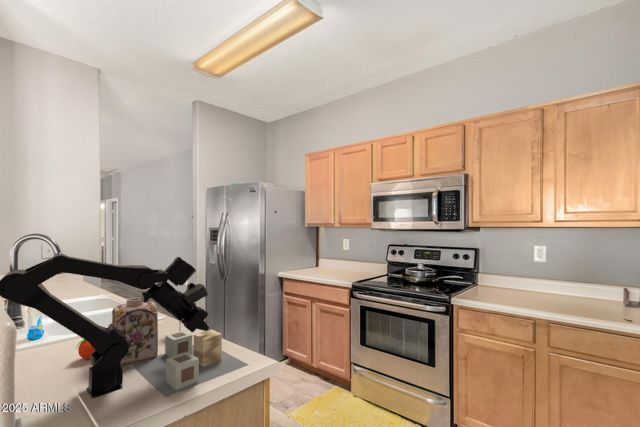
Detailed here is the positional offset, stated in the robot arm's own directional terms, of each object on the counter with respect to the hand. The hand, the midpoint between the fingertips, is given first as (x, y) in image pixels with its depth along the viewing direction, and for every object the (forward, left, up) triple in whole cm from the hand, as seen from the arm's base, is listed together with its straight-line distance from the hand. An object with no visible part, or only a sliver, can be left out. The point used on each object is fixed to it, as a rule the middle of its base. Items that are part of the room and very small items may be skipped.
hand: (207, 329), depth 98 cm
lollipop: (+4, +28, -10) cm, 30 cm away
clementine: (-24, +28, -10) cm, 38 cm away
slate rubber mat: (-5, +2, -10) cm, 11 cm away
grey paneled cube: (-11, -7, -10) cm, 16 cm away
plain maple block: (0, 0, -10) cm, 10 cm away
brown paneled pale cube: (-4, +11, -10) cm, 15 cm away
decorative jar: (-14, +20, -10) cm, 26 cm away
